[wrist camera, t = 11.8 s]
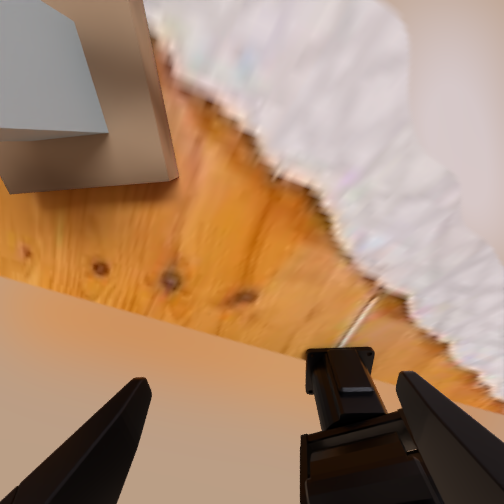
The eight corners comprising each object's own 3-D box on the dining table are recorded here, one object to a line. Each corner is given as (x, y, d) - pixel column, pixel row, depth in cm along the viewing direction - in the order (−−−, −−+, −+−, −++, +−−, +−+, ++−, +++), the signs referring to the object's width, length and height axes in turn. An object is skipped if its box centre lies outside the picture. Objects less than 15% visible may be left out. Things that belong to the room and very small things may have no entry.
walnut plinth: (179, 176, 17) (169, 181, 15) (35, 188, 18) (9, 194, 16) (133, -46, 12) (110, -78, 10) (-61, -16, 13) (-114, -42, 11)
